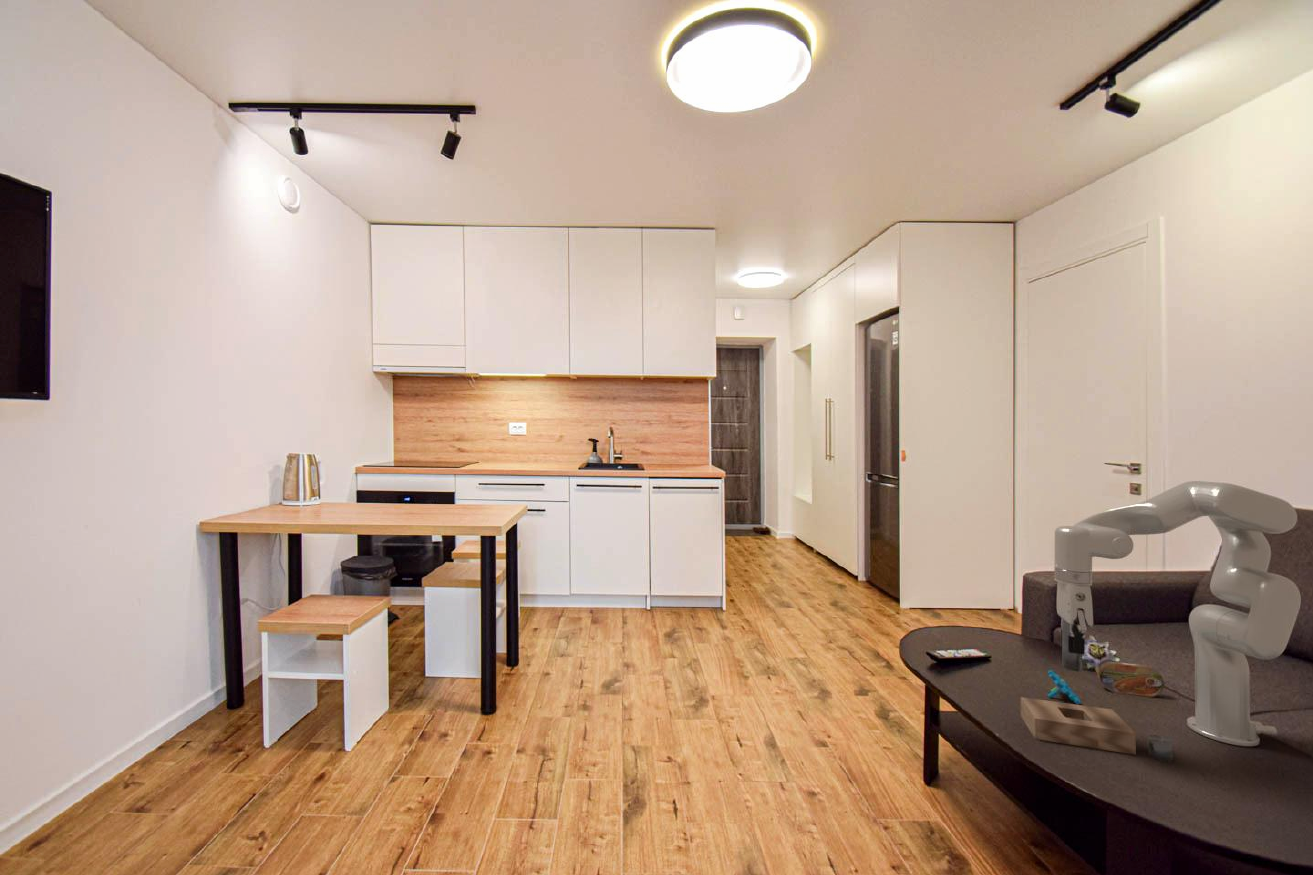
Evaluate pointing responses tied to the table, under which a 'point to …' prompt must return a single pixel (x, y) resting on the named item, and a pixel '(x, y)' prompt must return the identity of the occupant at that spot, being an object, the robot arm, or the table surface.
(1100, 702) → the table surface
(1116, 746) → the hole block
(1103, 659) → the passion flower
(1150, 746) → the short pin
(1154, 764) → the table surface
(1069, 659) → the long pin
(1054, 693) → the gear
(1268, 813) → the table surface
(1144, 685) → the tin
